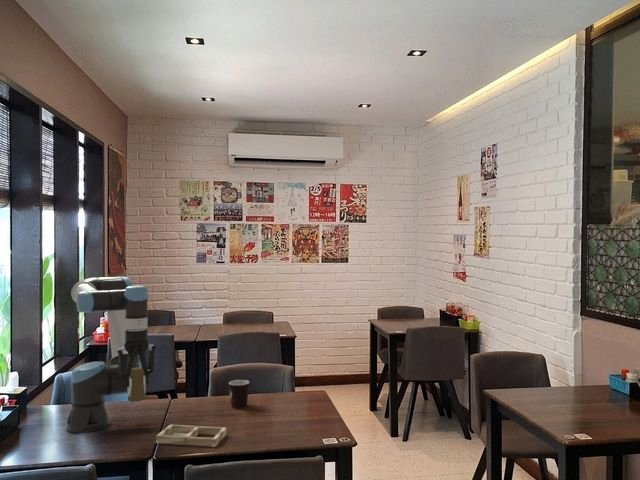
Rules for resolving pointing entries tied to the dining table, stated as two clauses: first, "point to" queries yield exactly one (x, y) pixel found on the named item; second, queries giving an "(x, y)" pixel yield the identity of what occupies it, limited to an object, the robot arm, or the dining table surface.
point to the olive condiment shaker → (137, 385)
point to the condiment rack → (191, 435)
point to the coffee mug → (239, 393)
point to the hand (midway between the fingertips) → (136, 394)
